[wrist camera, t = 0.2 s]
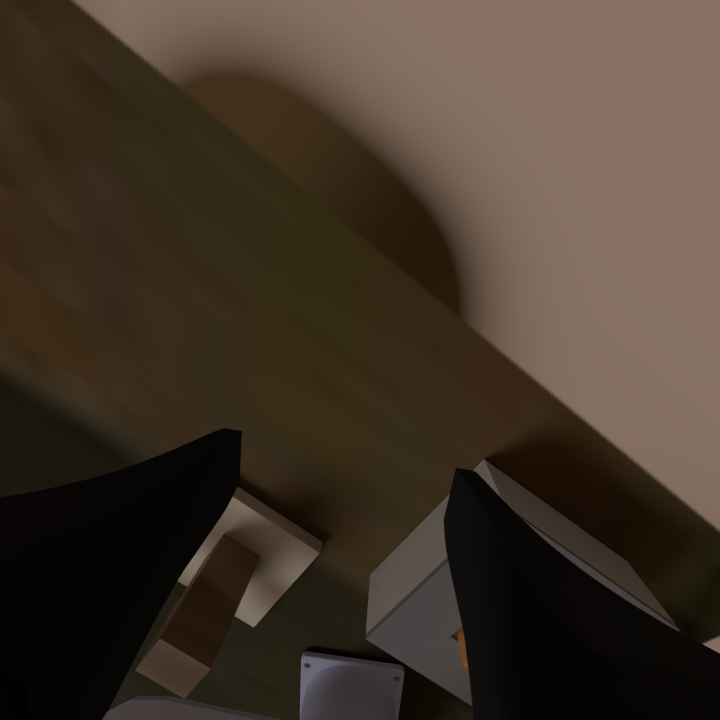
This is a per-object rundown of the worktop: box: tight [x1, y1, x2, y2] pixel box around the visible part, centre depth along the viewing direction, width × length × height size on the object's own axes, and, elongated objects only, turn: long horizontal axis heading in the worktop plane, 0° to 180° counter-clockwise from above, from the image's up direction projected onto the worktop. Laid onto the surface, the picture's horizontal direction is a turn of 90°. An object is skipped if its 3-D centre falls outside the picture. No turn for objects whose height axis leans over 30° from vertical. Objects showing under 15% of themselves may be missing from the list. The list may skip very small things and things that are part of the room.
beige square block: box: [178, 487, 323, 627], centre depth 25 cm, size 9×9×1 cm
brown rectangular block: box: [136, 534, 260, 699], centre depth 22 cm, size 3×3×7 cm
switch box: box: [366, 459, 679, 706], centre depth 22 cm, size 12×12×4 cm
